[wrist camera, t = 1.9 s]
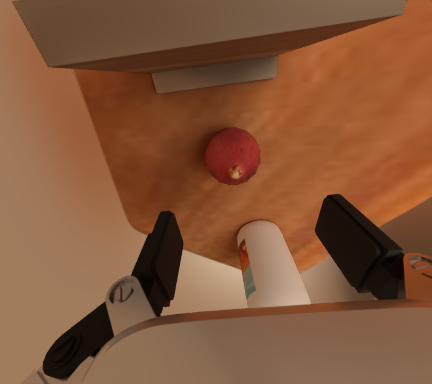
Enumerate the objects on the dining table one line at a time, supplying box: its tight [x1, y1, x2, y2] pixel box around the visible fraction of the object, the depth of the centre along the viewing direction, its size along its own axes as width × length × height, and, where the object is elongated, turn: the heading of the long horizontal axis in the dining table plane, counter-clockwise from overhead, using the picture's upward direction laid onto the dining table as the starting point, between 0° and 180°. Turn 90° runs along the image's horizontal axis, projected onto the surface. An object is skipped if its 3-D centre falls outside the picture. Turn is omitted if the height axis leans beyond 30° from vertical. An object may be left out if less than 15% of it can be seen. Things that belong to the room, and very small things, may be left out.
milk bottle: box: [237, 220, 311, 308], centre depth 22 cm, size 8×8×20 cm
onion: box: [205, 128, 260, 185], centre depth 18 cm, size 6×6×8 cm
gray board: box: [13, 0, 407, 94], centre depth 11 cm, size 5×12×13 cm, turn 97°
